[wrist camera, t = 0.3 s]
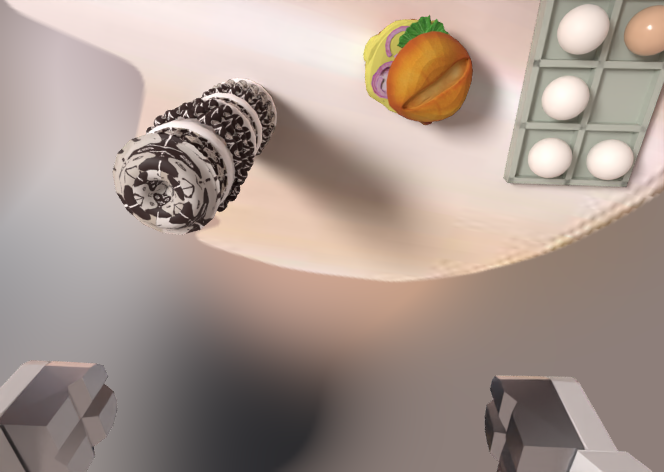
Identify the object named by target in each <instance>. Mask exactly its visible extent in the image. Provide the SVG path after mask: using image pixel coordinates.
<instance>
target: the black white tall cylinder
mask: <svg viewBox="0 0 664 472" xmlns="http://www.w3.org/2000/svg"><path fill="white" fill-rule="evenodd" d="M276 124H277V110H276V107H275V104H274V102H273V99H272V97H271V96H270V94H269V93H268V92H267V91H266V90H265V89H264V88H263V87H262V86H261V85H259V84H257V83H255V82H253V81H251V80H249V79H241V78H234V79H230V80H228V81H225V82H223V83H219V84H217V86H214V87H213V88H212V89H209V90H208V91H207V92H204V93H203V95H202V97H201V98H197V99H195V100H194V101H193V102H189V103H183V104H182V105H181V106H179V107H177V108H175V109H174V110H167V111H166V112H165V114H164V116H162V115H160V116H158V117H157V118H156V119H155V120H154V127H149V128H148V129H147V131H146V135H143V136H140V137H137V138H134V139H131V140H130V141H129V142H128V143H127V144H126V145H125V146H124V147H123V148H122V149H121V150H120V151H119V152H118V154H117V157H116V161H115V165H114V168H113V178H114V183H115V188H116V192H117V194H118V196H119V198H120V199H121V201H122V203H123V204H124V206H125V208H126V209H127V210H128V211H129V212H130V213H131V214H132V215H133V216H134V217H136V218H137V219H138V220H139V221H140V222H141V223H142V224H144V225H146V226H148V227H151V228H153V229H155V230H158V231H160V232H162V233H171V234H181V235H183V234H186V233H190V232H193V231H197V230H200V229H201V228H203V227H204V226H205V225H206V224H207V223H208V222H209V221H211V220H212V219H213V218H214V216H215V213H216V211H218V212H222V211H223V210H225V209H226V208H227V204H228V202H229V201H234V200H235V199H236V197H237V195H238V194H239V192H240V185H242V184H243V183H244V181H245V179H246V178H247V175H248V174H247V171H249V170H250V168H251V167H252V165H253V162H254V161H253V160H254V157H255V156H256V155H259V154H260V153H261V152H262V150H263V149H264V146H266V145H267V143H268V141H269V140H270V137H271V135H272V133H273V131H274V129H275V126H276Z"/></svg>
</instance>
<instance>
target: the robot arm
mask: <svg viewBox="0 0 664 472" xmlns="http://www.w3.org/2000/svg"><path fill="white" fill-rule="evenodd" d="M107 378H108V375H107V372H106V370H105V367H104V365H100V364H96V363H77V362H59V361H36V360H31V361H29V362H26V363H24V364H22V365H21V366H20V367H19V368H18V370H17V371H16V372H15V373H14V374H13V375H12V376H11V377H10V378H9V379H8V380H7V381H6V382H5V384H4V385H3V386H2V387H1V388H0V472H86V471H87V470H88V468H89V466H90V464H91V463H92V461H93V460H94V458H95V452H94V446H95V445H96V444H98V443H99V442H101V441H102V440H103V439H105V438H106V437H107V435H108V434H109V432H110V430H111V428H112V426H113V424H114V421H115V417H116V413H117V399H116V396H115V393H114V391H112V390H111V389H110V388H109V387H108V386H106V385H105V384H104V383H105V381H106V379H107ZM490 391H491V394H492V397H493V400H492V401H491V402H489V403H488V404H487V405H486V411H485V434H486V440H487V444H488V448H489V452H490V454H491V455H492V456H493V457H494V458H495V459H496V460H497V461H498V462H499V464H498V468H497V472H653V471H651V470H650V469H649V468H647V467H646V466H645V465H643V464H642V463H641V462H639V461H638V460H637V459H636V458H634V457H633V456H632V455H630V454H629V453H628V452H621V451H618V450H617V448H616V447H615V445H614V443H613V441H612V440H611V438H610V436H609V435H608V433H607V431H606V429H605V427H604V425H603V424H602V422H601V420H600V418H599V417H598V415H597V413H596V411H595V410H594V408H593V406H592V404H591V403H590V401H589V399H588V397H587V396H586V394H585V392H584V390H583V389H582V387H581V385H580V383H579V382H578V381H577V380H576V379H575V378H574V377H541V376H496V375H495V376H494V378H493V379H492V382H491V387H490Z"/></svg>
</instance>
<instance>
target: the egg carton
mask: <svg viewBox="0 0 664 472" xmlns="http://www.w3.org/2000/svg"><path fill="white" fill-rule="evenodd" d="M655 5H663V6H664V0H541V1H540V6H539V11H538V16H537V20H536V25H535V30H534V35H533V39H532V44H531V49H530V54H529V58H528V63H527V68H526V73H525V77H524V82H523V87H522V91H521V96H520V101H519V106H518V110H517V115H516V120H515V125H514V129H513V134H512V139H511V144H510V148H509V153H508V158H507V163H506V167H505V172H504V177H503V178H504V179H505V180H506V182H507V183H524V184H553V185H583V186H612V187H626V186H627V184H628V181H629V178H630V175H631V172H632V170H633V167H634V164H635V161H636V158H637V156H638V153H639V150H640V147H641V144H642V142H643V139H644V136H645V133H646V130H647V128H648V125H649V122H650V119H651V116H652V114H653V111H654V108H655V105H656V102H657V100H658V97H659V94H660V91H661V88H662V86H663V83H664V51H662V52H660V53H657V54H654V55H650V56H640V55H637V54H634V53H632V52H631V51H630V50H629V49H628V48H627V47H626V45H625V42H624V31H625V28H626V26H627V24H628V22H629V21H630V20H631V18H632V17H633V16H634V15H635V14H637V13H638V12H639V11H641V10H643V9H645V8H647V7H650V6H655Z"/></svg>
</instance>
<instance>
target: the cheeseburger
mask: <svg viewBox="0 0 664 472" xmlns="http://www.w3.org/2000/svg"><path fill="white" fill-rule="evenodd" d="M363 55H364V60H365V62H366V64H365V83H366V90H367V92H368V94H369V96H370V97H372V98H373V99H375V100H376V101H378V102H380V103H381V104H383V105H384V106H385V107H386V108H387V109H389V110H390V111H392V112H395V113H398V114H399V115H401V116H403V117H405V118H407V119H410V120H414V121H419V122H421V123H422V124H423V125H428V124H431V123H432V122H433V121H440V120H443V119H445V118H448V117H450V116H452V115H453V114H454V113H455V112H457V111H458V110H459V109H460V107H461V106H462V104H463V102H464V101H465V99H466V96H467V93H468V91H469V88H470V84H471V81H472V72H473V69H472V62H471V59H470V57H469V55H468V53H467V51H466V50H465V48H464V47H463V46H462V45H461V44H460V43H459V41H457V40H456V39H454V38H453V37H452V36H450V35H449V34H448V32H446V31H445V30H444V26H443V23H440V22H438V21H437V19H436V20H434V21H431V20H430V15H429V16H428V17H421V18H420V19H419V20H415V19H411V20H398V21H395V22H393V23H391V24H390V25H388V26H387V27H386V28H385V29H384V30H382V31H381V32H380V33H379V34H378V35H375V36H373V37H371V38H370V40H369V41H368V43H367V44H366V46H365V50H364V54H363Z"/></svg>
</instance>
